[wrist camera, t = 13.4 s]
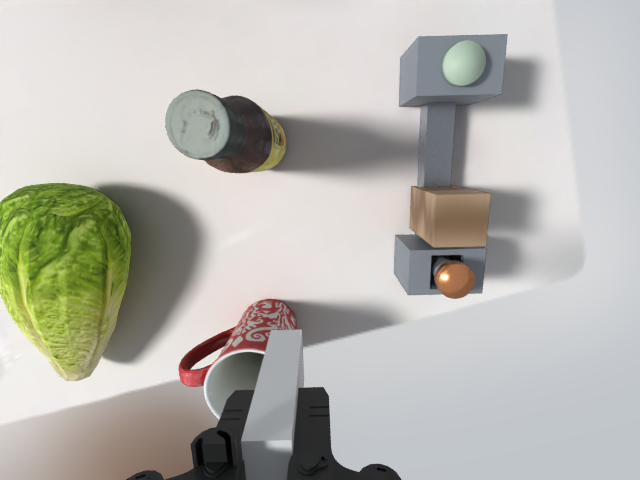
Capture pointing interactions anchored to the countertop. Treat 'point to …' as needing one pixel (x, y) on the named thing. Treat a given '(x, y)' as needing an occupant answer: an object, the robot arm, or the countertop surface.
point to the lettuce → (64, 271)
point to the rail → (436, 144)
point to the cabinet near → (452, 69)
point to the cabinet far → (416, 264)
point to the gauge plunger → (452, 276)
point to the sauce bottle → (225, 132)
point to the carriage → (450, 215)
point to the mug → (236, 353)
